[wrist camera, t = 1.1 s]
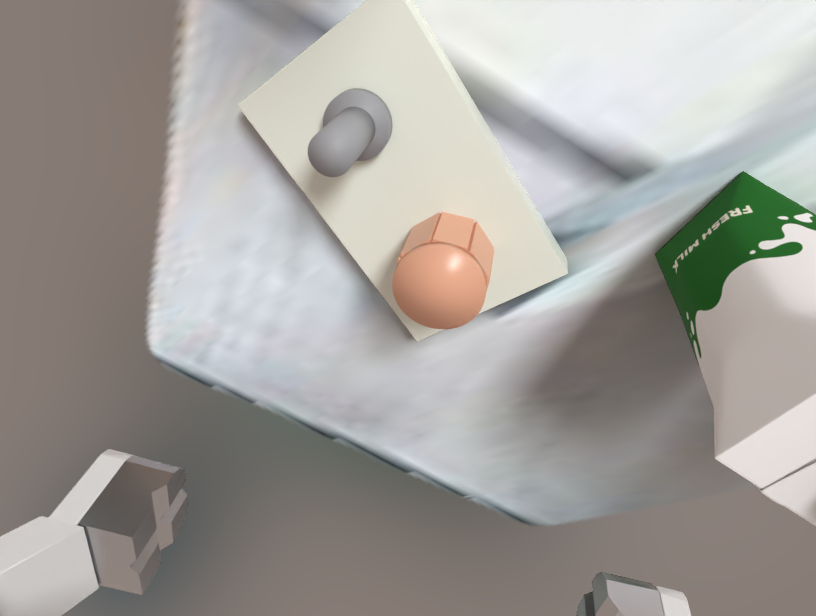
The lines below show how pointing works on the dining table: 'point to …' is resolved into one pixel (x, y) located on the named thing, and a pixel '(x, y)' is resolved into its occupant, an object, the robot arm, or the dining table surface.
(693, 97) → the dining table surface
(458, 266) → the cap
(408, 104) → the post board
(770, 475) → the milk carton
